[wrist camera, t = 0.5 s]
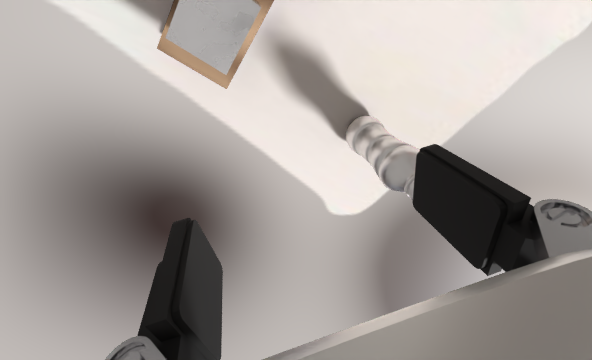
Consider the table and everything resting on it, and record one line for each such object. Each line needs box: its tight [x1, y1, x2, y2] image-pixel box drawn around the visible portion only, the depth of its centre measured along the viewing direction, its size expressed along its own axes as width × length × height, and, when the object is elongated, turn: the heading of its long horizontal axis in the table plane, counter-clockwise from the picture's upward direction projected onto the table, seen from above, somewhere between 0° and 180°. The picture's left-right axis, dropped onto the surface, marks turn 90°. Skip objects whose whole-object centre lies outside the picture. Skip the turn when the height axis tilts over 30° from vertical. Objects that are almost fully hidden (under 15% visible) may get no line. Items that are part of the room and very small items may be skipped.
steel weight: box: [166, 0, 261, 75], centre depth 25 cm, size 7×6×4 cm
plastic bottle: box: [346, 116, 420, 200], centre depth 38 cm, size 6×7×20 cm
